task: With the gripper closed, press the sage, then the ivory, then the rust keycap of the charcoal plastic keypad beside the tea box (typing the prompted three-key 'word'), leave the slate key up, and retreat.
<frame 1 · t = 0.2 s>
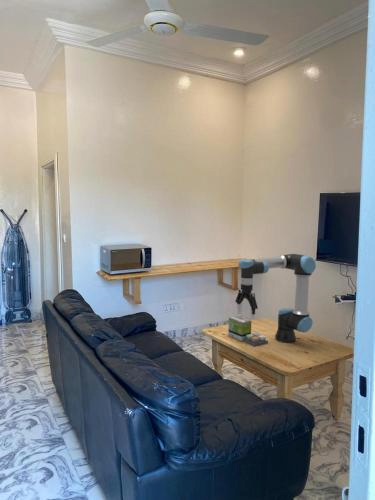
hand: (245, 316, 249), 28 cm above the table, fingers open, 13 cm apart
keypad board: (255, 342, 281), on the table
tea box: (239, 337, 291), on the table
ivory key: (261, 338, 280), point 3 cm above the table, slide at 0.0 cm
rust key: (255, 340, 277), point 3 cm above the table, slide at 0.0 cm
sage key: (250, 337, 281), point 3 cm above the table, slide at 0.0 cm
slate key: (256, 336, 284), point 3 cm above the table, slide at 0.0 cm
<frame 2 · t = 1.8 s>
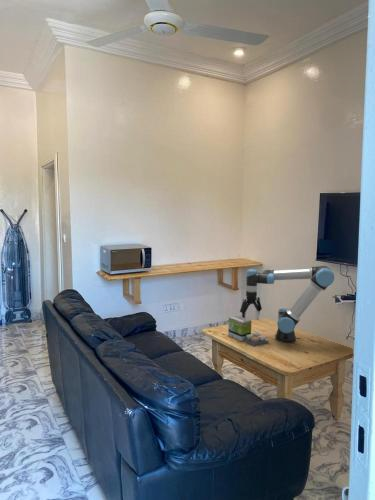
hand: (250, 320, 280), 16 cm above the table, fingers open, 11 cm apart
nothing on the table moved.
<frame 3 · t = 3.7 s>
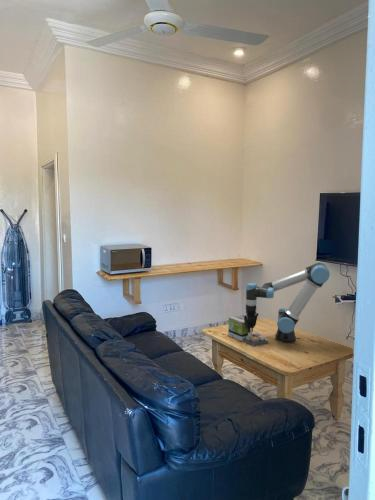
hand: (250, 336, 281), 4 cm above the table, fingers closed
sage key: (250, 339, 281), point 2 cm above the table, slide at 1.0 cm, touching gripper
everything else where it was.
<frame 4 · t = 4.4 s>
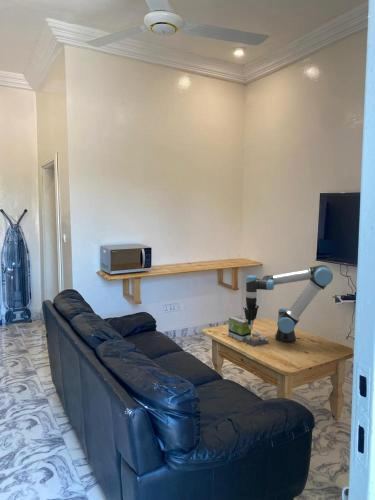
hand: (250, 328, 280), 10 cm above the table, fingers closed
sage key: (250, 339, 281), point 2 cm above the table, slide at 1.1 cm
everything else where it was.
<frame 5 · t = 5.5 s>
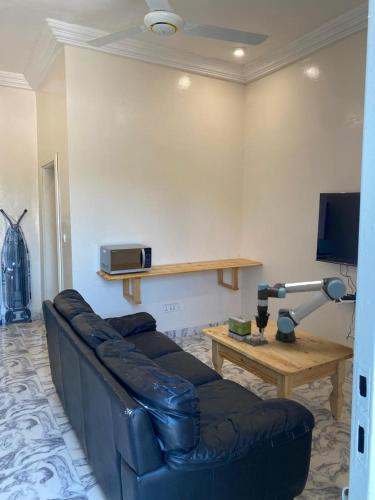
hand: (261, 336, 279), 5 cm above the table, fingers closed
ivory key: (261, 339, 280), point 3 cm above the table, slide at 0.6 cm, touching gripper
everything else where it was.
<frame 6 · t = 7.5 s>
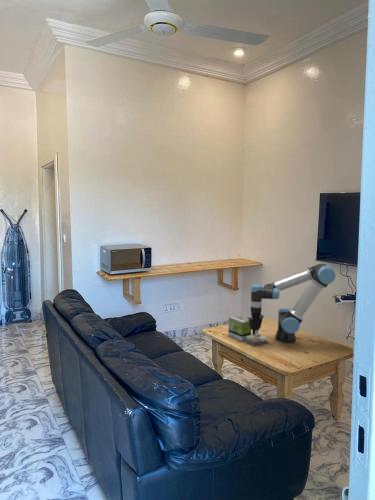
hand: (254, 338, 276), 4 cm above the table, fingers closed
ivory key: (261, 340, 280), point 2 cm above the table, slide at 1.1 cm
rust key: (255, 341, 277), point 2 cm above the table, slide at 1.1 cm, touching gripper
everything else where it was.
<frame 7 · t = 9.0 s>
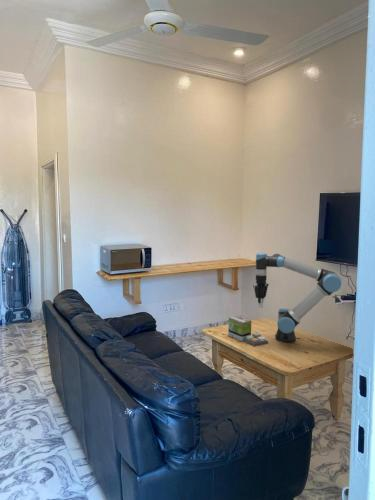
hand: (260, 307, 277), 27 cm above the table, fingers closed
rust key: (255, 341, 277), point 2 cm above the table, slide at 1.1 cm
everything else where it was.
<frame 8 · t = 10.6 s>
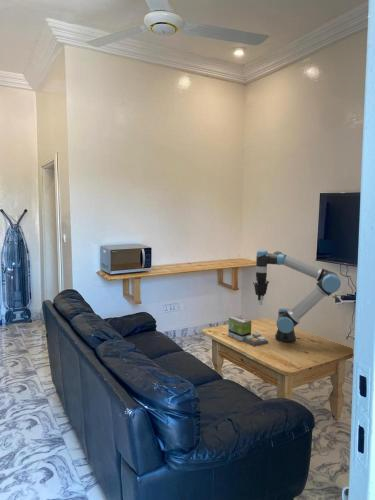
hand: (260, 304, 277), 28 cm above the table, fingers closed
nothing on the table moved.
at the end: sage key slide at 1.1 cm; rust key slide at 1.1 cm; slate key slide at 0.0 cm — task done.
